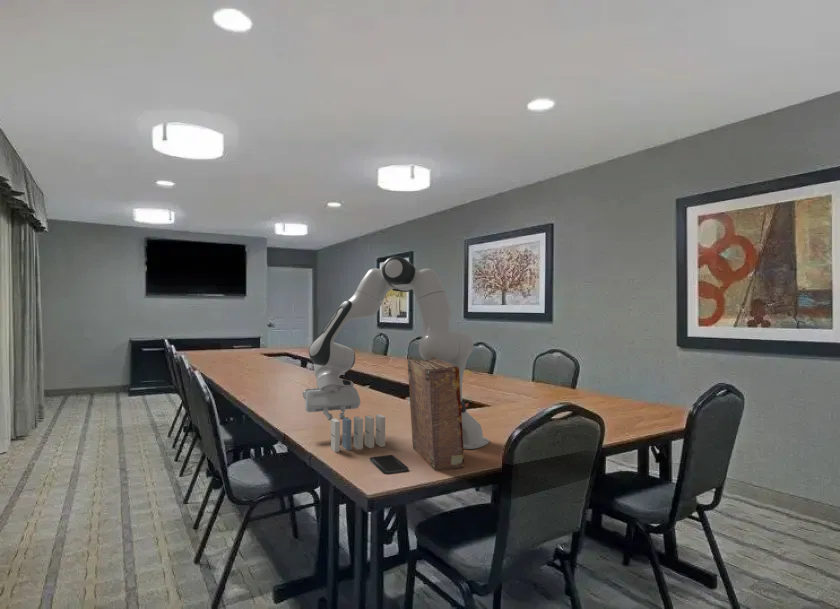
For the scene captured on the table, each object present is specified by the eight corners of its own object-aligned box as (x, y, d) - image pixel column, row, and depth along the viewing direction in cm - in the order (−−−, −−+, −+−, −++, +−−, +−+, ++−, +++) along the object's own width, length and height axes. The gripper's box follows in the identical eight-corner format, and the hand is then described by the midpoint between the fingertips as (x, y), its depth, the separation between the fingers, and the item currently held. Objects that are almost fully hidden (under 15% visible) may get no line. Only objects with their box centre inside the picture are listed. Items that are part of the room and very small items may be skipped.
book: (412, 447, 173) (407, 359, 172) (438, 443, 175) (433, 357, 174) (435, 472, 148) (429, 370, 147) (464, 467, 151) (458, 366, 150)
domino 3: (358, 445, 175) (358, 416, 175) (362, 449, 171) (363, 419, 171) (353, 445, 175) (353, 416, 175) (358, 449, 170) (358, 419, 170)
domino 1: (335, 448, 172) (335, 418, 172) (339, 451, 167) (339, 421, 167) (330, 448, 171) (331, 418, 171) (334, 452, 167) (335, 421, 167)
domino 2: (346, 446, 174) (347, 417, 174) (351, 450, 169) (351, 420, 170) (342, 446, 173) (342, 417, 173) (346, 450, 169) (346, 420, 169)
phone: (384, 471, 145) (368, 457, 159) (384, 475, 145) (368, 460, 159) (409, 468, 148) (392, 454, 162) (409, 472, 148) (392, 458, 162)
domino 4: (369, 444, 177) (369, 415, 177) (374, 447, 172) (374, 418, 173) (364, 444, 176) (364, 415, 176) (369, 448, 172) (369, 418, 172)
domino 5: (379, 442, 179) (380, 414, 179) (385, 446, 174) (385, 417, 174) (375, 443, 178) (375, 414, 178) (380, 446, 173) (380, 417, 174)
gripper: (303, 384, 186) (308, 416, 177) (357, 381, 194) (365, 411, 185) (300, 394, 190) (306, 426, 181) (353, 391, 198) (361, 421, 189)
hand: (336, 418), depth 183 cm, fingers open, 3 cm apart
